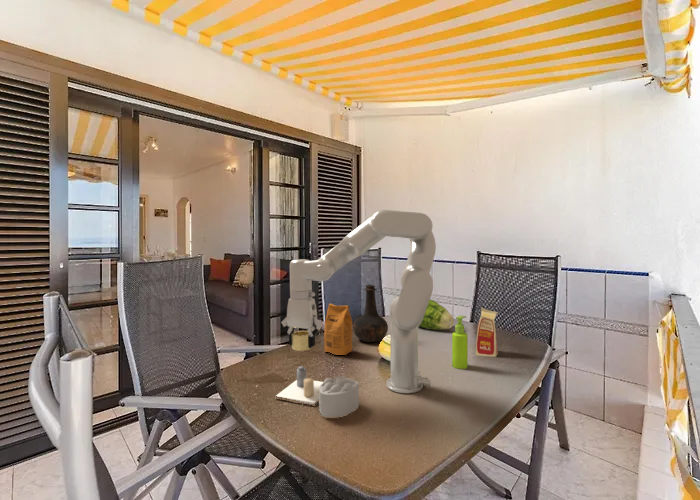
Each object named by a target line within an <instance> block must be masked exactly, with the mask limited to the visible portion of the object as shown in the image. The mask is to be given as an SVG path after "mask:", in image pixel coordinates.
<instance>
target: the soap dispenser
mask: <svg viewBox="0 0 700 500" xmlns="http://www.w3.org/2000/svg"><path fill="white" fill-rule="evenodd" d="M464 318H465V319H466V318H467V316H466V315H458V316H456V317H455V319H456V320H457V323H456V324H455V326H454V327H455V329H454V332H452V334H451V341H452V342H451V348H452V349H451V353H452V354H451V363H452V365H451V366H452V367H453V368H454V369H457V370H465V369H467V368H468V367H469V366H468V365H469V364H468V362H469V361H468V356H469V355H468V351H469V350H468V347H469V346H468V342H469V341H468V333H466V332H465V325H464V324H463V319H464Z"/></svg>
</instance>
